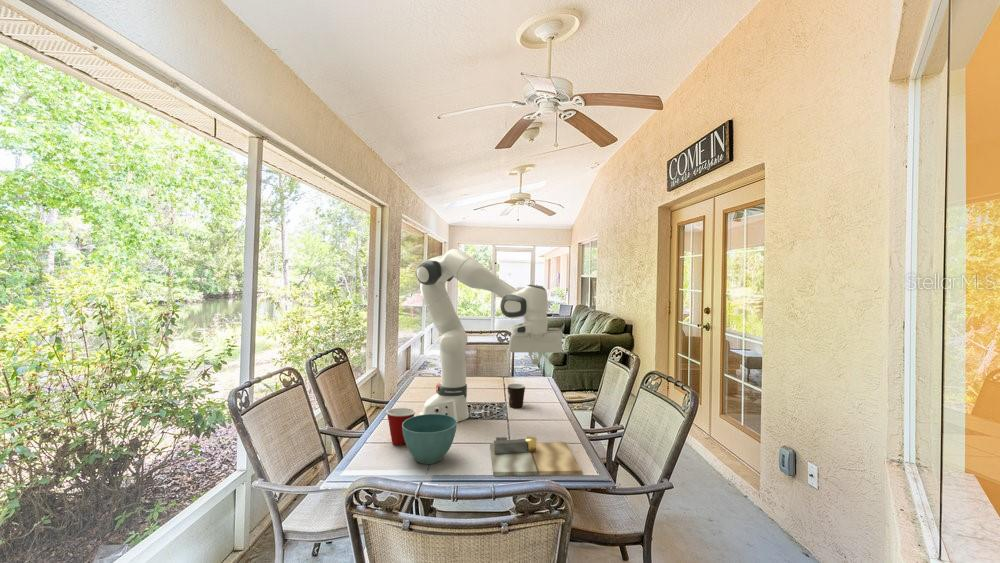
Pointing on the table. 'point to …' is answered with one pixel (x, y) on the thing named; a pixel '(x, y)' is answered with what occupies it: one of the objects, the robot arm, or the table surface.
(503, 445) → the latch bar
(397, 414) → the plastic cup
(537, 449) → the door board
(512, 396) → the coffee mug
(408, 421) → the plant pot
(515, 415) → the table surface
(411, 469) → the table surface
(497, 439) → the block
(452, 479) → the table surface
